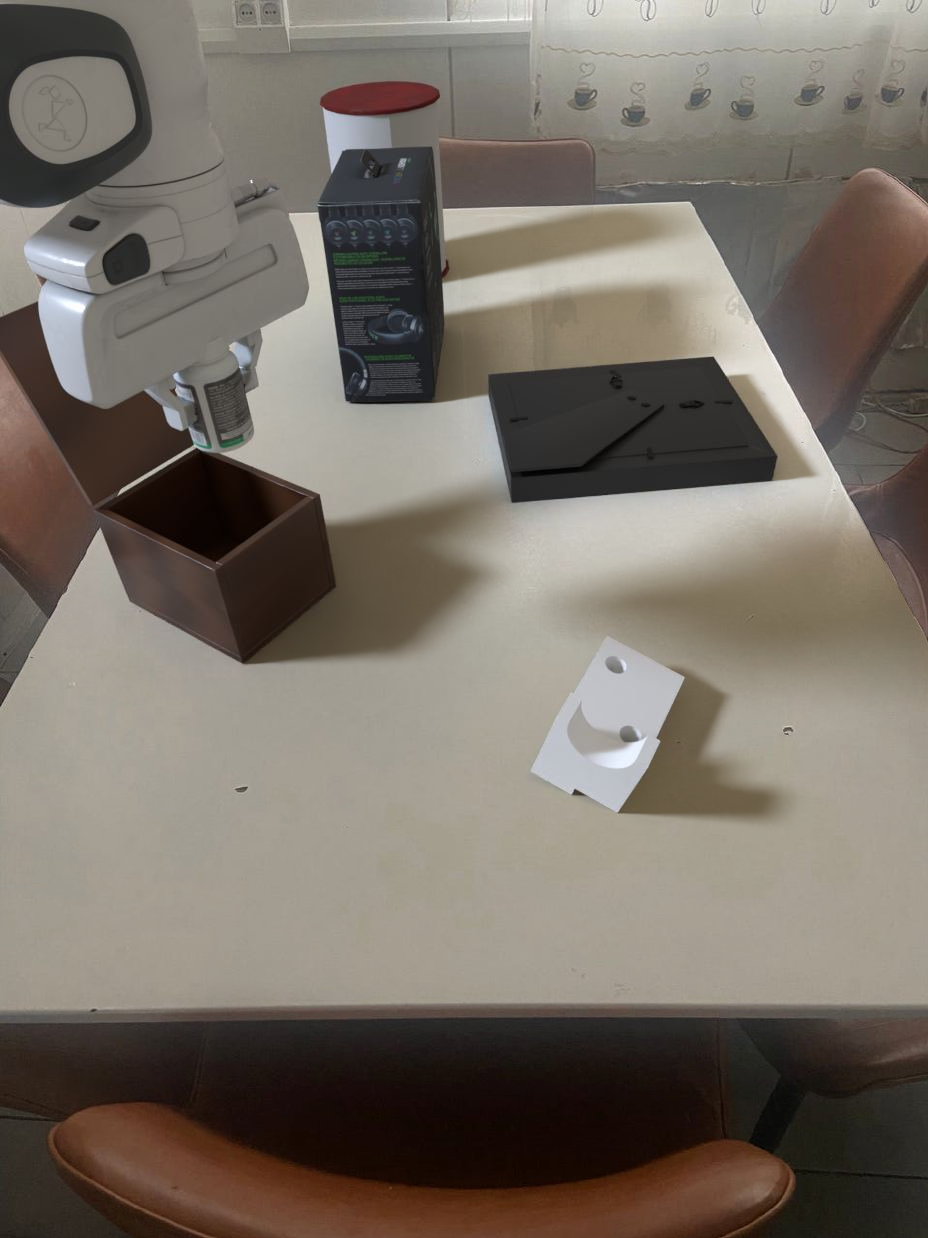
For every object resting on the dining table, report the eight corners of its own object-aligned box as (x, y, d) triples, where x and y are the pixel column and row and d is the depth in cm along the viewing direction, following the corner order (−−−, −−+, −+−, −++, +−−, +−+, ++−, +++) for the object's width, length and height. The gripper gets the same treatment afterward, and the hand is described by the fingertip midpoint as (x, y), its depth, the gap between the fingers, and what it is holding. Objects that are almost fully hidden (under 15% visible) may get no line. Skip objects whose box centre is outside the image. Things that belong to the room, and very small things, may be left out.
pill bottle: (262, 423, 70) (239, 319, 64) (245, 455, 66) (219, 349, 60) (204, 422, 70) (176, 319, 64) (184, 454, 67) (152, 349, 61)
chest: (336, 586, 86) (320, 494, 79) (243, 664, 79) (214, 570, 72) (225, 534, 93) (200, 445, 86) (129, 601, 86) (93, 510, 78)
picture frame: (511, 502, 95) (772, 480, 96) (511, 469, 92) (780, 446, 93) (488, 396, 112) (710, 378, 113) (487, 365, 109) (715, 347, 110)
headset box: (363, 327, 129) (339, 129, 111) (446, 325, 128) (435, 125, 111) (342, 405, 112) (310, 187, 95) (437, 403, 112) (422, 183, 94)
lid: (113, 268, 77) (109, 270, 78) (-15, 323, 70) (-20, 324, 71) (201, 440, 85) (196, 441, 86) (93, 505, 78) (89, 505, 78)
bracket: (613, 818, 66) (648, 767, 61) (530, 771, 68) (556, 716, 62) (669, 702, 75) (704, 647, 69) (594, 661, 76) (622, 604, 70)
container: (373, 245, 152) (355, 78, 136) (466, 256, 147) (459, 83, 130) (323, 284, 141) (296, 106, 124) (421, 297, 135) (407, 113, 119)
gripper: (247, 162, 64) (282, 343, 74) (-3, 256, 53) (76, 457, 62) (311, 175, 62) (339, 361, 71) (62, 277, 50) (135, 484, 59)
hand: (215, 406), depth 66 cm, fingers closed on pill bottle, 5 cm apart
